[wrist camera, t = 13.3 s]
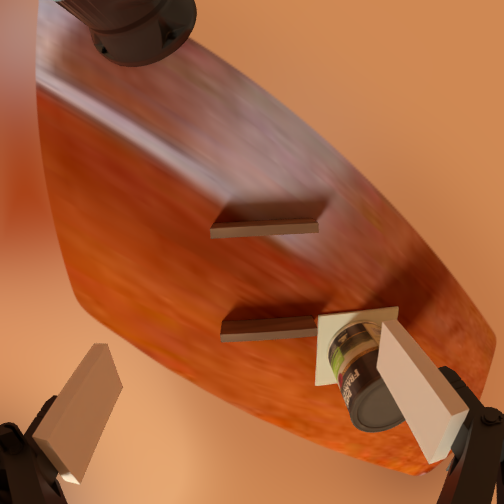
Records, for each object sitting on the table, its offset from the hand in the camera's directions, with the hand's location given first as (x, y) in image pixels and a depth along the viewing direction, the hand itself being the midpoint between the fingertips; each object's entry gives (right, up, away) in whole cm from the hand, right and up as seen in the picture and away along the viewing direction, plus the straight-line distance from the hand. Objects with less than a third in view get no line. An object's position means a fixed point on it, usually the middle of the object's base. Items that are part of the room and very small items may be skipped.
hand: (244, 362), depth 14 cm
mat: (+17, -10, +33) cm, 39 cm away
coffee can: (+17, -10, +33) cm, 38 cm away
